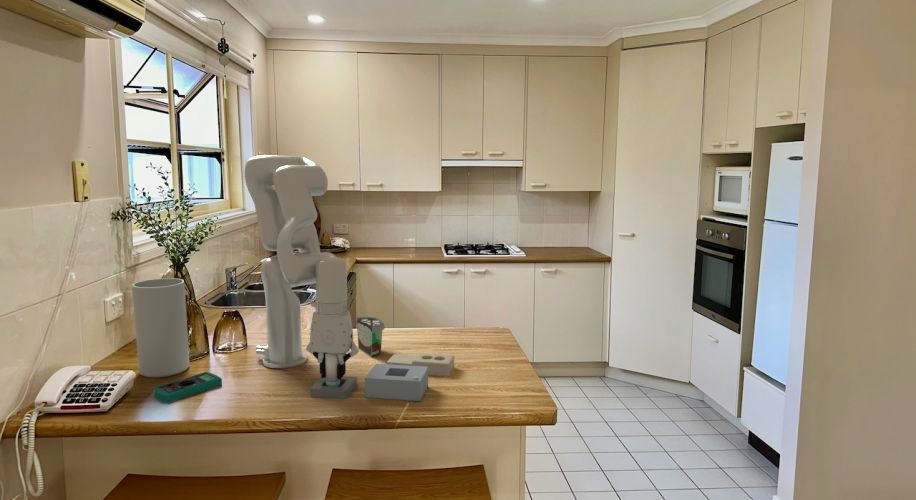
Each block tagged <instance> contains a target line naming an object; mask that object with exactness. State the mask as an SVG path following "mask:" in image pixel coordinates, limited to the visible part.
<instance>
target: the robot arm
mask: <svg viewBox="0 0 916 500" xmlns="http://www.w3.org/2000/svg"><path fill="white" fill-rule="evenodd" d="M244 181H245V185H246V188H247V191H248V193H249V195H250V198H251V199H252V201H253V204H254V208H255V213H256V218H257V219H256V220H257V225H258V226H257V227H258V231H259V237H260V242H261V245H262V246H263V248H264V249H265V250H266V251H270V252H276V255H273V256H269V257H267V258H265V259H264V260H263V262H262V263H261V265H260V276H261V281H262V285H263V289H264V290H263V291H264V298H265V315H266V319H265V320H266V335H267V336H266V337H267V338H266V339H267V345H266V346H264V345H256V346H255V354H256V355H263V356H264V357H263V358H262V365H264V366H265V367H267V368H271V369H286V368H293V367H296V366H300V365H302V364H304V363H305V362H307V361H308V359H309V358H308V354H307V353H306V352H304V351H303V347H302V346H303V345H302V343H303V342H302V341H303V340H302V317H301V314H302V313H301V311H302V310H301V302H300V298H299V297H298V296H297V294H296V293H295V292H294V291H293V289H292V288H295V287H300V286H308V285H314V284H315V297H316V298H315V300H314V301H311V303H310V306H311V307H312V308H315V311H313V313H312V317H311V323H310V331H309V335H310V336H309V343H308V344H307V346H306V348H305V351H307V352H309V354H311V355H312V356H313V357H315V359H317V362H318V363H319V374H321V377H320V378H325V377H326V371H325V353H331V354H338V358H339V364H338V365H337V379H341V378H342V377H343V376H346V371H347V370H346V362H347V361H348V360H349V359H350V358H352V357H354V356H356V355H358V354H359V352H360V350H359V348H358V345H356V343H355V341H354V330H353V322H352V316H351V313H350V311H349V310H348V272H347V271H348V265H347V262H346V260H345V259H344V258H342V257H339V256H338V257H337V256H336V255H335V254H334V253H332V252H329V251H326V252H325V251H324V252H323V251H322V252H321V248H320V247H321V246H320V241H319V237H318V232H317V228H316V226H315V224H314V223H315V222H316V220H317V218H318V212H317V208H316V205H315V202H314V201H313V200H314V199H313V197H314V196H315V197H319V196H323V195H324V194H326V192H327V190H328V187H329V186H328V185H329V183H328V182H329V181H328V177H327V175H326V172H325V170H324V169H323V168H322V167H321V166H320V165H319V164H317V163H315V162H314V161H312V160H311V159H309V158H308V157H304V156H300V155H275V154H273V155H271V154H265V155H263V154H262V155H256V156H255V155H254V156H253V157H250V158H249V159H248V160H247V161H246V162H245V165H244ZM273 186H274V187H273ZM294 250H298V251H299V253H294Z"/></svg>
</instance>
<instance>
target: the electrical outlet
mask: <svg viewBox="0 0 916 500" xmlns="http://www.w3.org/2000/svg"><path fill="white" fill-rule="evenodd" d="M386 364H389V365H406V366H423V367H428V376H438V377H447V378H448V377H450V376H451V375H452V372H454V371H453V370H454V369H455V356H454V354H453V355H451V354H450V355H449V354H441V353H440V354H437V353H436V354H435V353H422V352H419V353H417V354H406V353H405V354H402V353H394V354H393V355H392V356H390V358H389V359H388V360H387V361H386Z"/></svg>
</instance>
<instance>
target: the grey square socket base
mask: <svg viewBox="0 0 916 500" xmlns="http://www.w3.org/2000/svg"><path fill="white" fill-rule="evenodd" d="M357 386H358V378H357V376H346V375H344V376H343V377H342V378H341V379H340V387H329V386H326V377H325V378H321V377H320V378H319V379H318V380H317V381H316V382H315V383H314V384H313V385H312V386H311V387H310V389H309V390H310V392H309V393H310V395H309V396H310V397H312V398H322V399H324V398H325V399H326V398H327V399H338V400H339V399H340V400H346V399H347V398H348V397H349V396H350V394H351V393H352V392H353V390H354V389H355V388H356V387H357ZM310 397H309V398H310Z"/></svg>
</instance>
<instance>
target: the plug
mask: <svg viewBox="0 0 916 500" xmlns="http://www.w3.org/2000/svg"><path fill="white" fill-rule="evenodd" d="M338 364H339V358H338V354H331V353H325V371H326V386H329V387H340V379H337V365H338Z"/></svg>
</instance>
